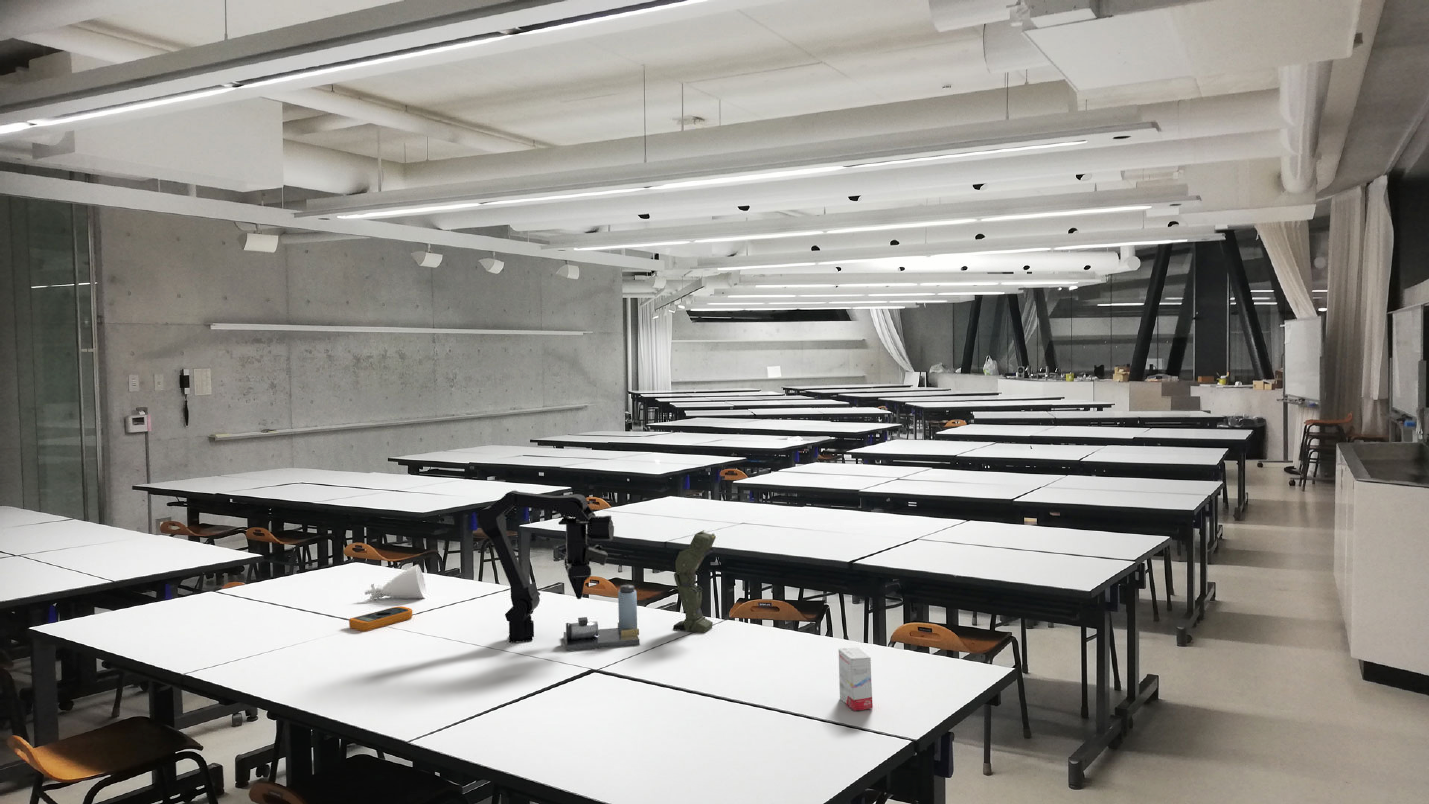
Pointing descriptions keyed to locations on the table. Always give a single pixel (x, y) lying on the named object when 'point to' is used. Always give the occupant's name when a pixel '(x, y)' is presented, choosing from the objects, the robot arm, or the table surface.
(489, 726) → the table surface
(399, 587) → the rocket engine
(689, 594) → the mechanical leg
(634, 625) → the bottle
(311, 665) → the table surface
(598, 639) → the plate
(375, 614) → the multimeter
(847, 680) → the ink box
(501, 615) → the table surface
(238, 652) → the table surface
